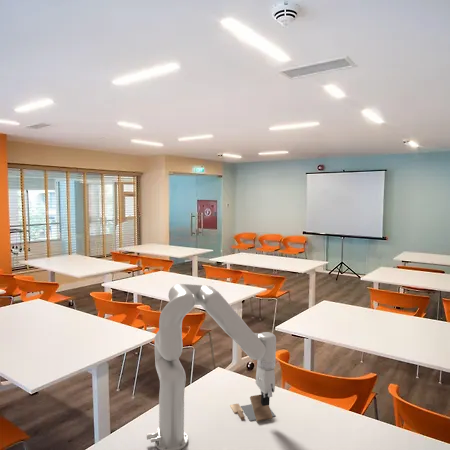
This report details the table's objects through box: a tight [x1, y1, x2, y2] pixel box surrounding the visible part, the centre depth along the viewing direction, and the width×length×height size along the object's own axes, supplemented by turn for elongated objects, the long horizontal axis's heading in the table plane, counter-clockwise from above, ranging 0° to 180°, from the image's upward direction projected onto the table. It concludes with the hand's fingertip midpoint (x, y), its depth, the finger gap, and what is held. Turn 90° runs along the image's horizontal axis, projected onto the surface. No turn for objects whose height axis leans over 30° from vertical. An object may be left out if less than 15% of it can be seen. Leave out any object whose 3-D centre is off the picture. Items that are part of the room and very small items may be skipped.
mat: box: [240, 404, 276, 422], centre depth 160 cm, size 12×11×1 cm
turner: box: [229, 403, 246, 421], centre depth 159 cm, size 4×11×1 cm, turn 18°
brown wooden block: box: [249, 394, 273, 422], centre depth 157 cm, size 7×2×10 cm
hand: (265, 404), depth 153 cm, fingers closed
